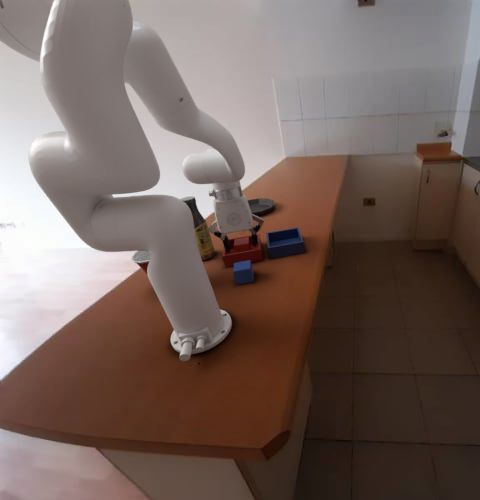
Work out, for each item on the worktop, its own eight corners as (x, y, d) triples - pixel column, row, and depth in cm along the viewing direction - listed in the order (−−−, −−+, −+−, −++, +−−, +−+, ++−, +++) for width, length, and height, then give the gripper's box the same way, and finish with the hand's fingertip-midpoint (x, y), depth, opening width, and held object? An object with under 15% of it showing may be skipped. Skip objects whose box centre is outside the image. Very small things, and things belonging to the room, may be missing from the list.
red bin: (262, 260, 87) (260, 249, 85) (225, 267, 85) (222, 256, 83) (261, 244, 96) (259, 233, 94) (228, 249, 94) (225, 239, 92)
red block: (251, 255, 89) (248, 243, 87) (237, 258, 88) (233, 245, 86) (251, 248, 93) (248, 236, 91) (237, 251, 92) (234, 239, 90)
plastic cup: (153, 279, 82) (136, 244, 76) (192, 271, 84) (178, 236, 78) (143, 302, 73) (123, 264, 67) (187, 292, 75) (171, 254, 69)
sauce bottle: (209, 261, 88) (188, 202, 78) (191, 260, 90) (169, 202, 80) (220, 251, 94) (202, 195, 84) (203, 250, 95) (184, 194, 85)
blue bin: (305, 252, 90) (303, 241, 88) (270, 259, 87) (267, 248, 85) (299, 237, 99) (298, 227, 97) (268, 242, 97) (266, 232, 95)
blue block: (253, 281, 78) (250, 268, 75) (237, 284, 77) (233, 271, 74) (253, 272, 81) (250, 259, 79) (237, 275, 80) (234, 262, 78)
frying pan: (278, 202, 132) (277, 194, 130) (266, 232, 104) (264, 223, 102) (241, 204, 132) (239, 197, 130) (219, 235, 104) (216, 226, 103)
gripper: (194, 201, 75) (212, 257, 84) (259, 192, 78) (270, 247, 87) (198, 193, 81) (215, 246, 90) (259, 186, 85) (269, 237, 93)
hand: (242, 246), depth 88 cm, fingers open, 7 cm apart
